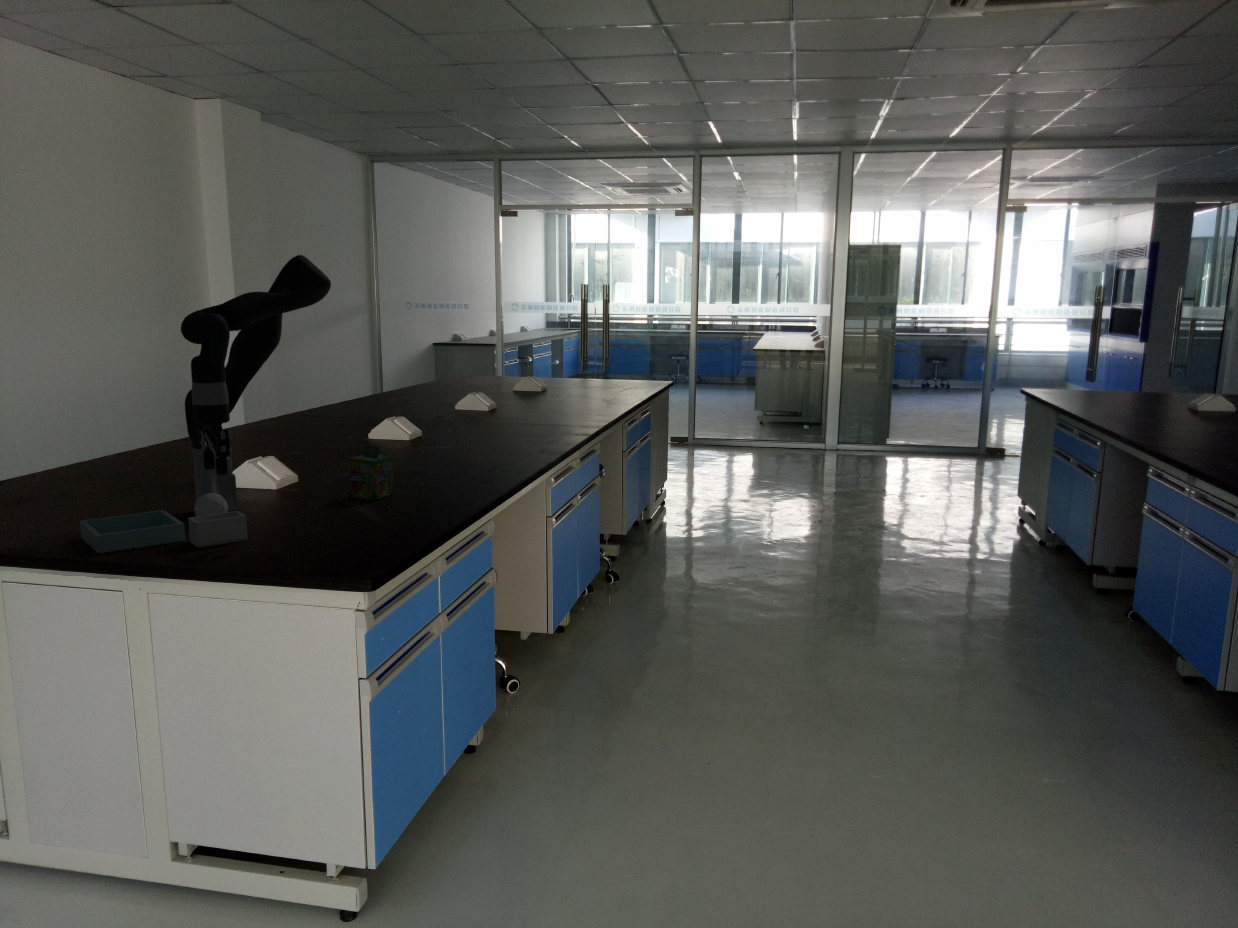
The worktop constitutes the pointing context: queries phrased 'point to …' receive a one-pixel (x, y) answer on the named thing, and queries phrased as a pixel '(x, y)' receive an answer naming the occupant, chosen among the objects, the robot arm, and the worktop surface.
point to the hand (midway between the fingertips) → (215, 471)
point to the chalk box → (370, 475)
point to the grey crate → (217, 529)
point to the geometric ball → (210, 505)
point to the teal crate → (132, 531)
